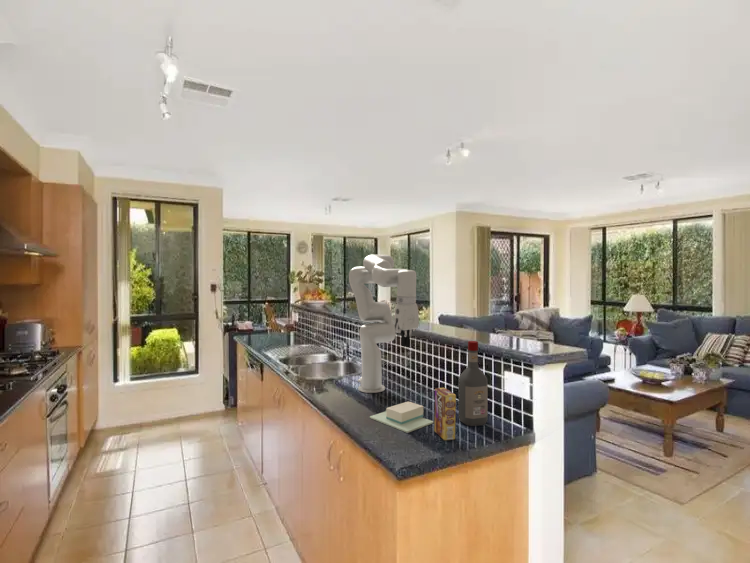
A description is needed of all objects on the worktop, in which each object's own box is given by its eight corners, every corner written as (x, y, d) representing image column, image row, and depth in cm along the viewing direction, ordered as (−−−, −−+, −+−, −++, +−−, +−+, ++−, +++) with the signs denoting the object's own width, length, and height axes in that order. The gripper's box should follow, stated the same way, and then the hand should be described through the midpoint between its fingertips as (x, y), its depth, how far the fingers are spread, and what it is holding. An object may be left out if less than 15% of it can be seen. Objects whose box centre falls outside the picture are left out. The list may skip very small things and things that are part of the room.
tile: (408, 411, 164) (386, 418, 155) (408, 401, 163) (386, 408, 155) (423, 416, 158) (401, 424, 150) (423, 406, 158) (401, 413, 149)
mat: (369, 418, 158) (369, 416, 158) (395, 409, 167) (395, 408, 167) (407, 433, 143) (407, 431, 143) (433, 423, 152) (433, 421, 152)
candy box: (456, 439, 137) (456, 394, 137) (444, 441, 136) (444, 395, 136) (445, 429, 146) (445, 387, 145) (434, 431, 145) (434, 388, 144)
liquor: (490, 424, 151) (490, 343, 150) (468, 427, 148) (468, 344, 147) (477, 416, 159) (477, 339, 159) (456, 418, 157) (456, 340, 156)
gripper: (399, 302, 157) (398, 350, 158) (425, 300, 166) (424, 345, 168) (386, 301, 162) (385, 347, 163) (412, 298, 172) (411, 342, 173)
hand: (405, 346), depth 165 cm, fingers closed
